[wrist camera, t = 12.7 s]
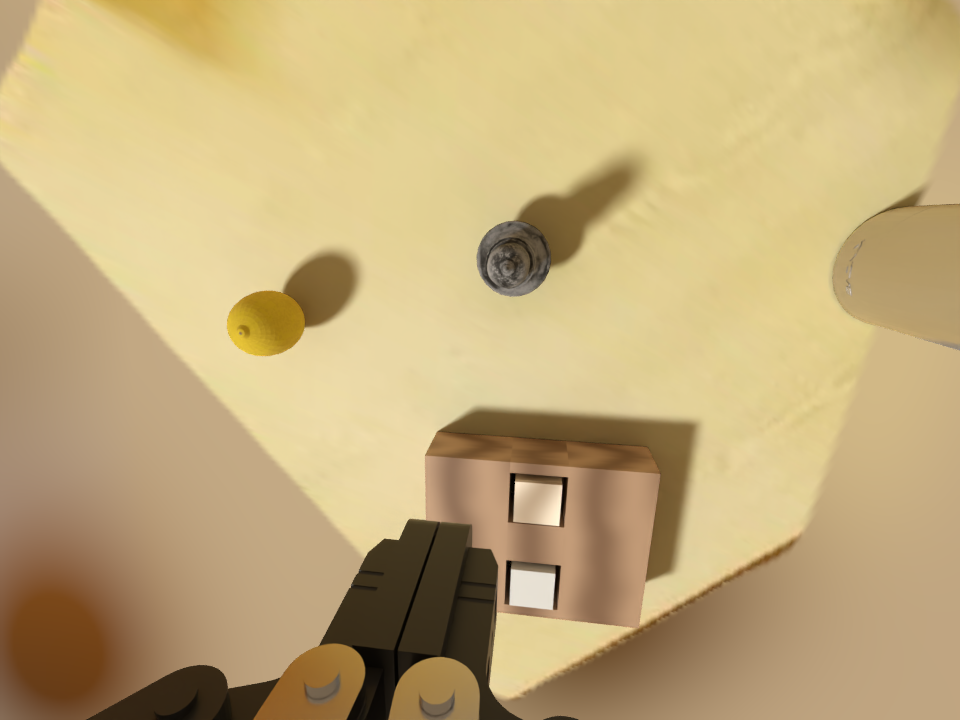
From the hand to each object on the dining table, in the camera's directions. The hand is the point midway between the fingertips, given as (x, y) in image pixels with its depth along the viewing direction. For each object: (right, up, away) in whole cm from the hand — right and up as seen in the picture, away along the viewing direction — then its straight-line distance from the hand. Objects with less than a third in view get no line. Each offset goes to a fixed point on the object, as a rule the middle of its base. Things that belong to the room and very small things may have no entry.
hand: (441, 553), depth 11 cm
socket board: (+6, -11, +36) cm, 38 cm away
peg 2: (+6, -15, +36) cm, 40 cm away
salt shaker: (+4, +14, +29) cm, 33 cm away
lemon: (-17, +9, +33) cm, 38 cm away
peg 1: (+7, -7, +34) cm, 35 cm away
